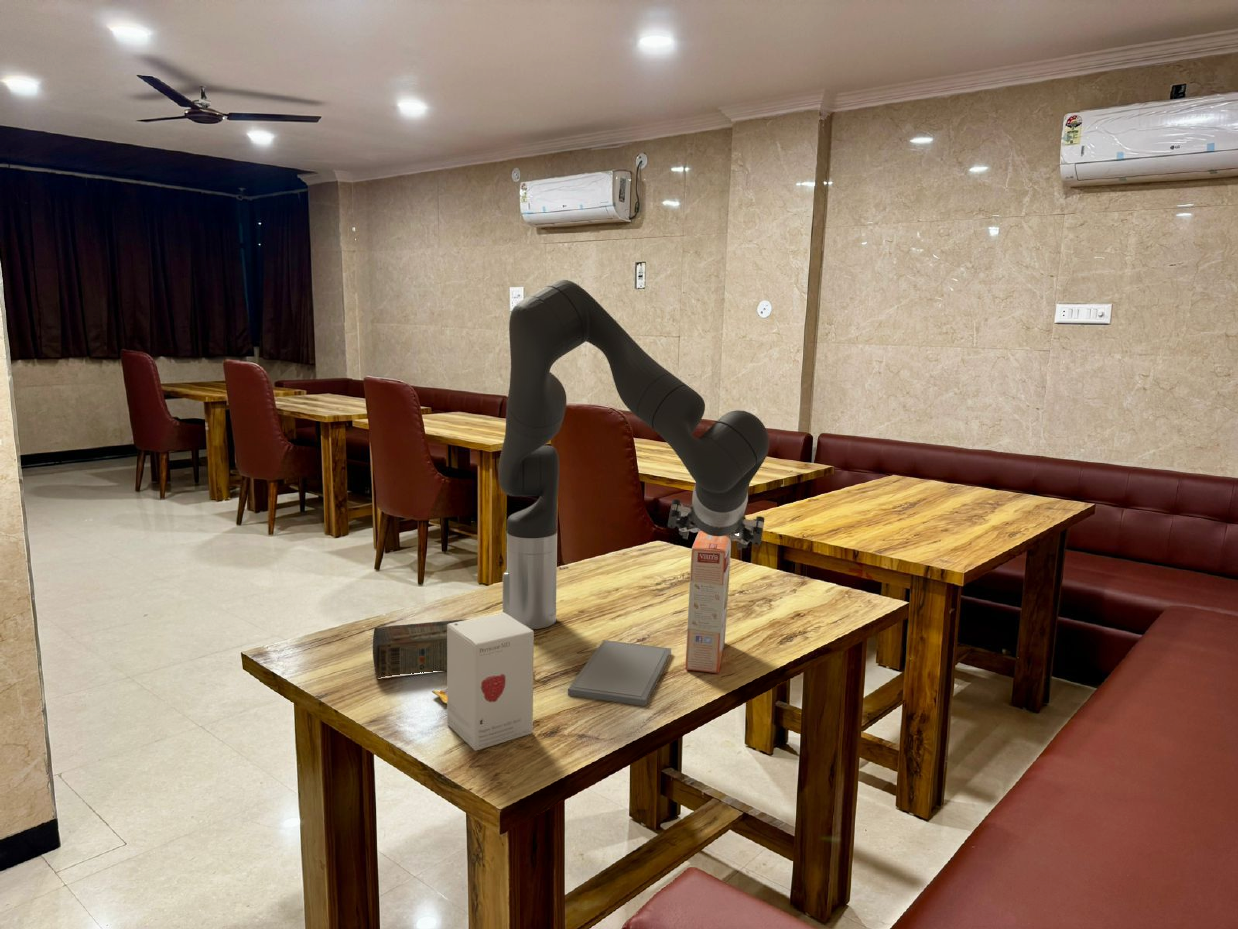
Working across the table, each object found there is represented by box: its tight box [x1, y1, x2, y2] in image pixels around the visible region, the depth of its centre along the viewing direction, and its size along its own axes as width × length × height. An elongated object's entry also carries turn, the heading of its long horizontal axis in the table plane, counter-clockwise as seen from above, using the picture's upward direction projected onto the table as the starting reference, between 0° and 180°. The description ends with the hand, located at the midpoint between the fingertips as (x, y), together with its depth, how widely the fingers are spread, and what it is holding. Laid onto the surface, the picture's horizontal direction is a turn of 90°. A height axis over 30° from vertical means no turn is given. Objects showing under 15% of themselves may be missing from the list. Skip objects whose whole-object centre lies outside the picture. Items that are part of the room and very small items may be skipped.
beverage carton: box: [372, 618, 470, 678], centre depth 132 cm, size 8×19×7 cm, turn 111°
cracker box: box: [684, 531, 732, 674], centre depth 137 cm, size 14×6×21 cm, turn 168°
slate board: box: [567, 639, 672, 707], centre depth 131 cm, size 20×12×1 cm, turn 165°
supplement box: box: [446, 611, 535, 752], centre depth 111 cm, size 9×9×15 cm
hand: (713, 538), depth 128 cm, fingers open, 8 cm apart
